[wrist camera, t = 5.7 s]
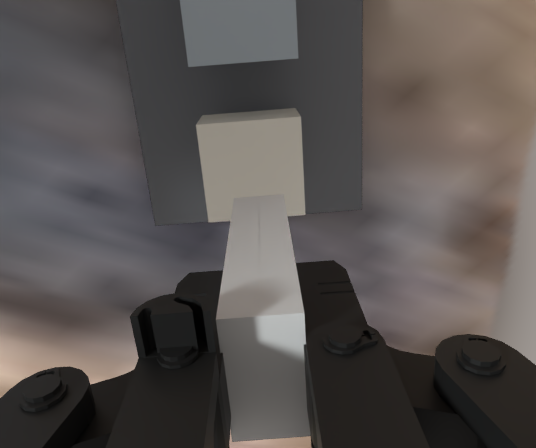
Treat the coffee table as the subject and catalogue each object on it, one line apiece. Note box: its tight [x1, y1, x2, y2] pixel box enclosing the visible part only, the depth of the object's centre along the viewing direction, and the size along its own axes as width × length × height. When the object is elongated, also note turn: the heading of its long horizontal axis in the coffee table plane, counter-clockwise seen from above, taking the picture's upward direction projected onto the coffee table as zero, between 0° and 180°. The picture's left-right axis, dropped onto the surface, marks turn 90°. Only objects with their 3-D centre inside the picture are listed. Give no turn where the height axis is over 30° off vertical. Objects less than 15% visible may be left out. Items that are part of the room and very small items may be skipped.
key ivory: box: [196, 108, 305, 223], centre depth 23 cm, size 5×5×5 cm
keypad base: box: [116, 0, 363, 226], centre depth 24 cm, size 12×22×2 cm, turn 4°
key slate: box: [180, 0, 298, 67], centre depth 21 cm, size 5×5×5 cm
